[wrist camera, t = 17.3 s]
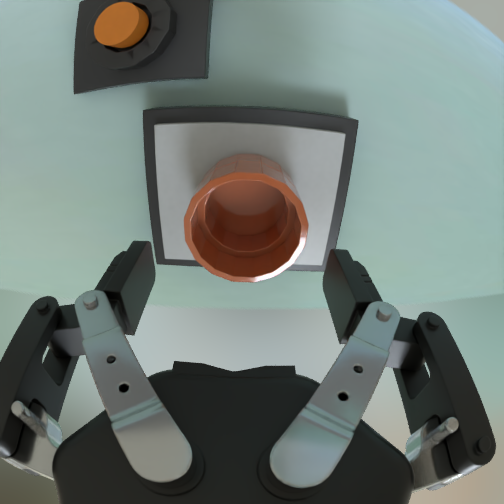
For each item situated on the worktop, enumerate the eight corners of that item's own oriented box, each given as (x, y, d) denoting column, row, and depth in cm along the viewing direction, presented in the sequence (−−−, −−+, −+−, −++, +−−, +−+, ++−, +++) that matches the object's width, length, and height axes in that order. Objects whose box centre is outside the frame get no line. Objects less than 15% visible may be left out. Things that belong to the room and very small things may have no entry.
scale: (162, 251, 24) (154, 268, 21) (152, 107, 17) (139, 110, 15) (325, 258, 24) (331, 276, 22) (349, 117, 18) (362, 121, 15)
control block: (82, 93, 16) (61, 96, 13) (88, 4, 12) (68, -2, 9) (208, 78, 16) (200, 75, 14) (214, -19, 12) (208, -35, 9)
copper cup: (200, 239, 20) (188, 279, 16) (198, 150, 17) (180, 170, 13) (289, 243, 20) (298, 284, 16) (300, 155, 17) (316, 177, 13)
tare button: (105, 52, 12) (92, 50, 11) (108, 13, 11) (96, 8, 9) (147, 44, 13) (137, 40, 11) (150, 4, 11) (140, -3, 9)
